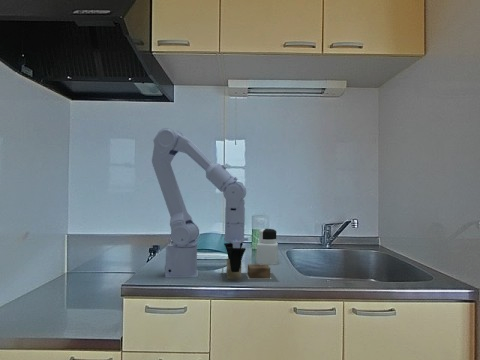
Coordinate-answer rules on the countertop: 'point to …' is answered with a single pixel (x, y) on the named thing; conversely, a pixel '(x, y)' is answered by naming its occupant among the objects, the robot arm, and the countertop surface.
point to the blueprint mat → (246, 278)
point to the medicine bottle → (267, 247)
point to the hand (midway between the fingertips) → (234, 269)
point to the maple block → (232, 274)
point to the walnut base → (258, 271)
